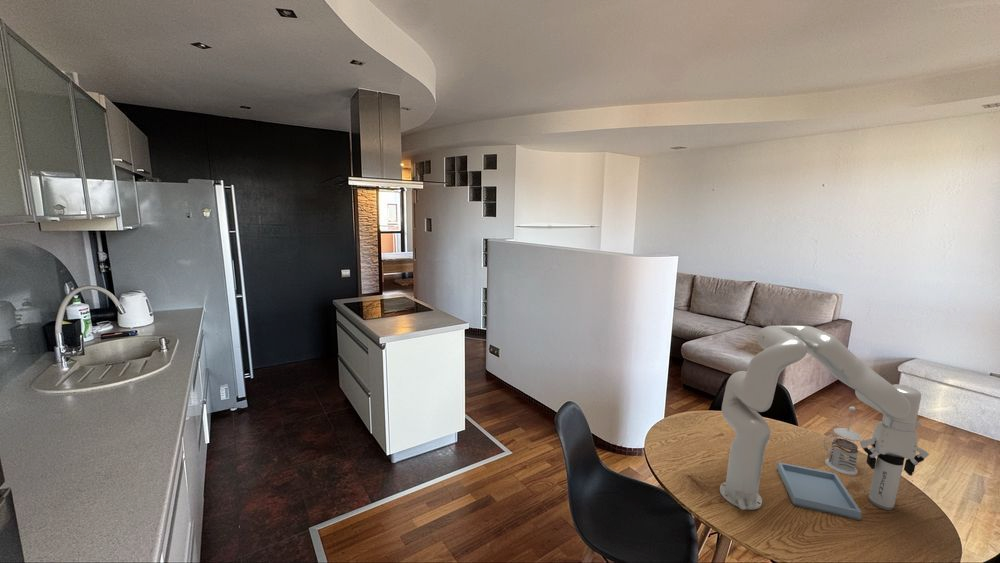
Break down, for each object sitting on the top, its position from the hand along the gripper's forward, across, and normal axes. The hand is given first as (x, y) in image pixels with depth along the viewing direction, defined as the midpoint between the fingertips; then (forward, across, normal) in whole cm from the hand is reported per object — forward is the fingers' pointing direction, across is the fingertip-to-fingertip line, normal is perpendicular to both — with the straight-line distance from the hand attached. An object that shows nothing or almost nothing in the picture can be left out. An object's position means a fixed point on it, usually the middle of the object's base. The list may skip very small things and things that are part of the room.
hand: (889, 469), depth 133 cm
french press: (+13, +6, -19) cm, 24 cm away
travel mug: (+13, +1, 0) cm, 13 cm away
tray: (+12, +20, +2) cm, 23 cm away
